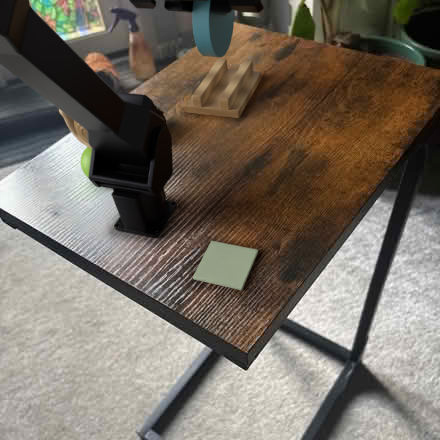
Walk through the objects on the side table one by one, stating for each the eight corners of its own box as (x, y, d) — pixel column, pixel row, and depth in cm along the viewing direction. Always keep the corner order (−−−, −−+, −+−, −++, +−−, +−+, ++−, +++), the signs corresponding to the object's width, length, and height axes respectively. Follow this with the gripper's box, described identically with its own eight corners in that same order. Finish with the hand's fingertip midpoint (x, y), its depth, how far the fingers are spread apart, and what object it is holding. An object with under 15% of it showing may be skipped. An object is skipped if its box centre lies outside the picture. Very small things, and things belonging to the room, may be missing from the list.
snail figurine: (98, 162, 69) (68, 85, 60) (132, 171, 67) (107, 93, 57) (75, 184, 67) (40, 108, 57) (110, 195, 64) (80, 117, 55)
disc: (214, 70, 67) (204, -6, 59) (198, 69, 68) (187, -7, 60) (236, 38, 73) (230, -36, 65) (222, 37, 73) (214, -36, 65)
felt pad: (241, 290, 52) (241, 288, 51) (193, 279, 53) (192, 277, 53) (258, 251, 55) (258, 249, 54) (211, 242, 57) (211, 240, 56)
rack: (238, 118, 72) (237, 100, 70) (186, 112, 75) (183, 95, 72) (261, 78, 78) (260, 60, 76) (212, 74, 81) (210, 57, 79)
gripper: (264, -138, 48) (291, -51, 63) (110, -129, 53) (168, -50, 68) (245, -22, 50) (275, 37, 65) (98, -24, 55) (157, 30, 70)
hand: (217, 11), depth 67 cm, fingers closed on disc, 2 cm apart
